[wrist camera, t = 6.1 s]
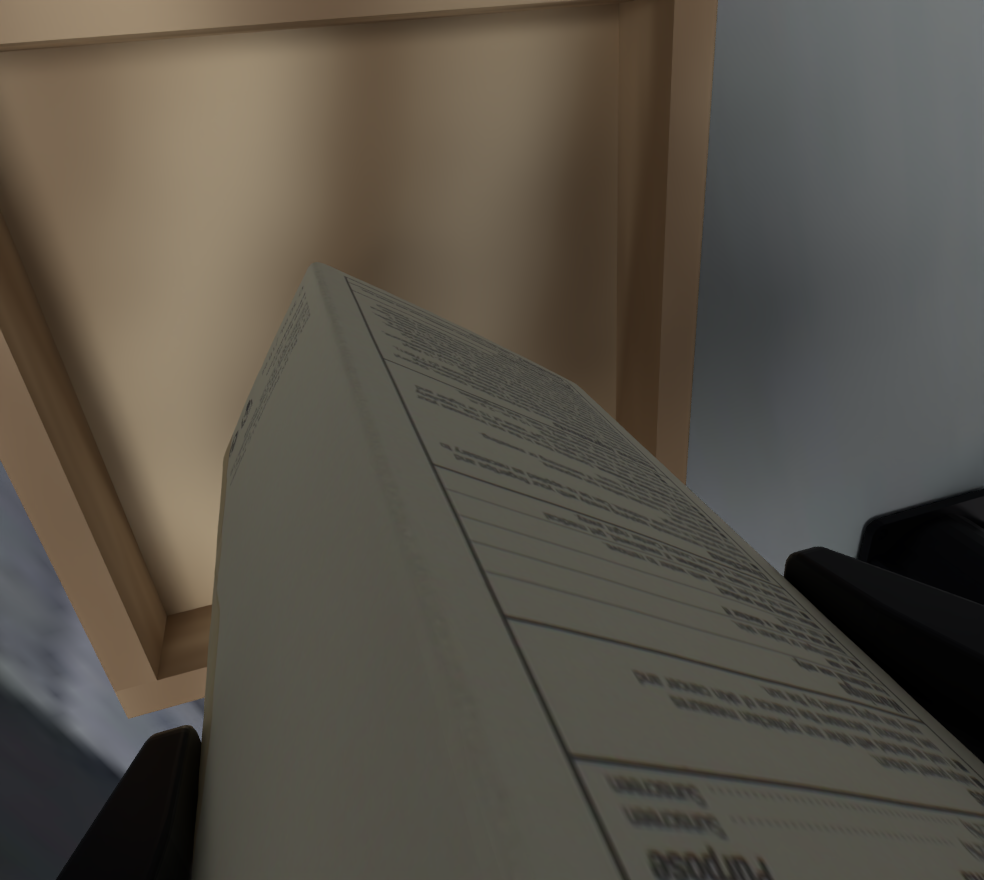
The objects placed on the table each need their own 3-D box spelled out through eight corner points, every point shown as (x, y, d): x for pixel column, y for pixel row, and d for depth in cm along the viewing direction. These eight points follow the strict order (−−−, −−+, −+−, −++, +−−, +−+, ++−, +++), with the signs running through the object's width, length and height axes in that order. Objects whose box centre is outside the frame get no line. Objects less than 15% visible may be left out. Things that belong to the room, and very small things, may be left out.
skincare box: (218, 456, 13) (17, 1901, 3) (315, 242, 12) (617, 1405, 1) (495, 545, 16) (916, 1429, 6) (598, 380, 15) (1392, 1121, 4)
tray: (638, -45, 17) (722, -71, 14) (628, 504, 24) (680, 563, 22) (-127, 2, 13) (-236, -19, 10) (145, 627, 21) (128, 718, 18)
